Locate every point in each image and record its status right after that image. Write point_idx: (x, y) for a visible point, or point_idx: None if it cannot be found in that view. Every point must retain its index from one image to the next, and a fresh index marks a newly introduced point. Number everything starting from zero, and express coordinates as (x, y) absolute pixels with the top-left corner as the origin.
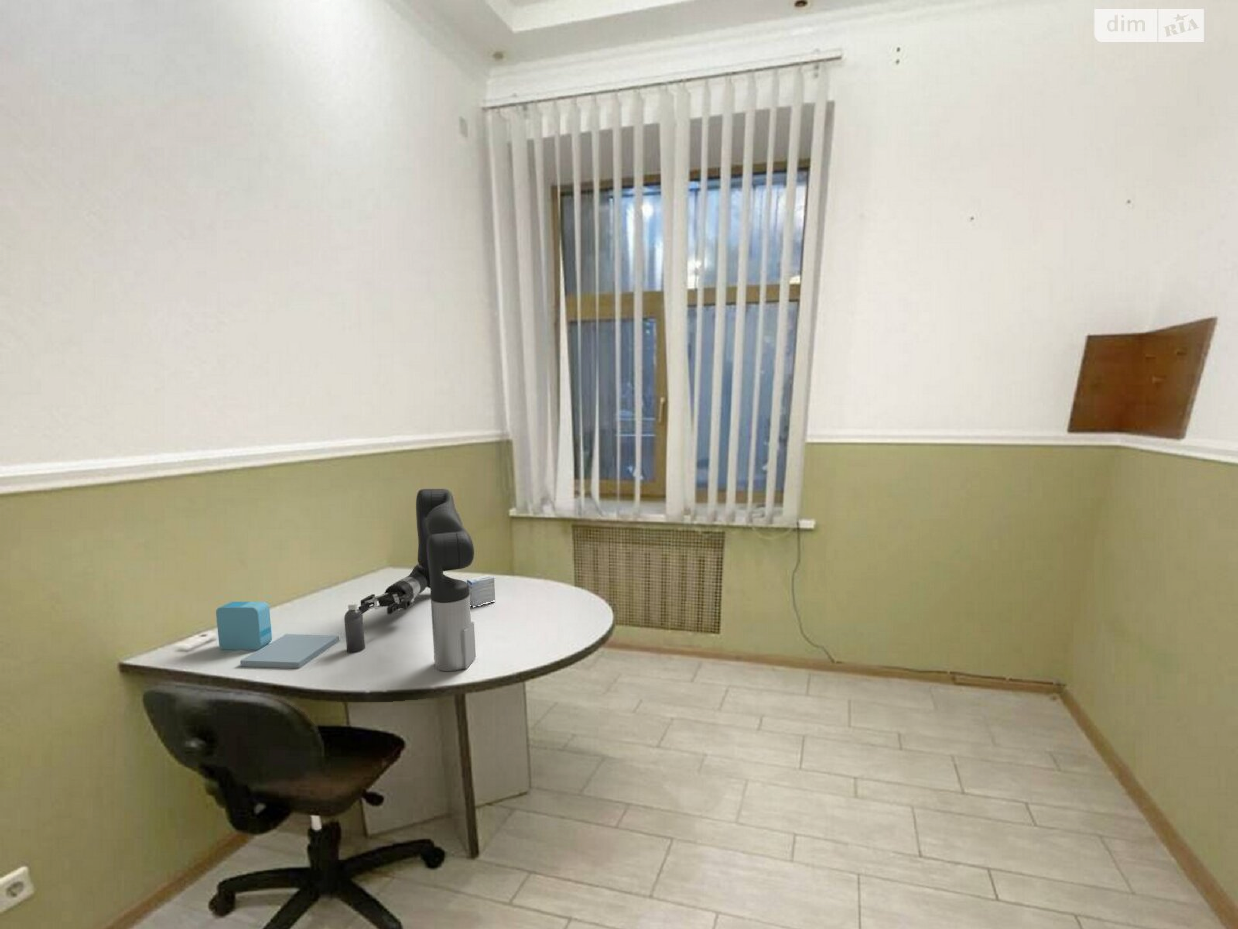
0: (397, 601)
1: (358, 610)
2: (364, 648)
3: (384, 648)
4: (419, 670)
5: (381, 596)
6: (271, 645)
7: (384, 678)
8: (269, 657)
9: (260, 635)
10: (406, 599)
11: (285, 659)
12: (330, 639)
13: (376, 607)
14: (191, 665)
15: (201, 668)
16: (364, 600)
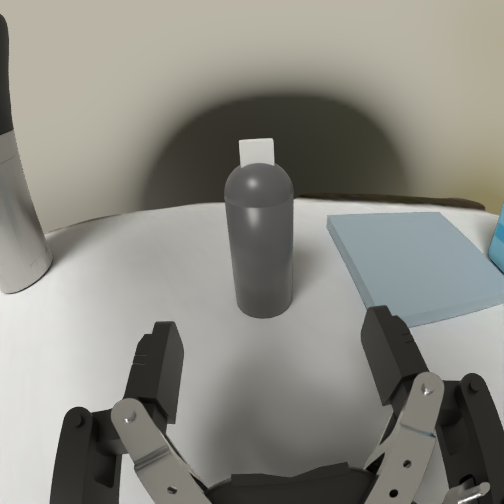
0: (124, 406)
1: (236, 171)
2: (237, 303)
3: (171, 312)
4: (76, 250)
5: (372, 488)
6: (470, 249)
7: (130, 228)
8: (408, 220)
9: (496, 229)
10: (71, 458)
11: (369, 218)
12: (379, 293)
13: (368, 462)
14: (493, 220)
15: (473, 216)
16: (461, 390)
